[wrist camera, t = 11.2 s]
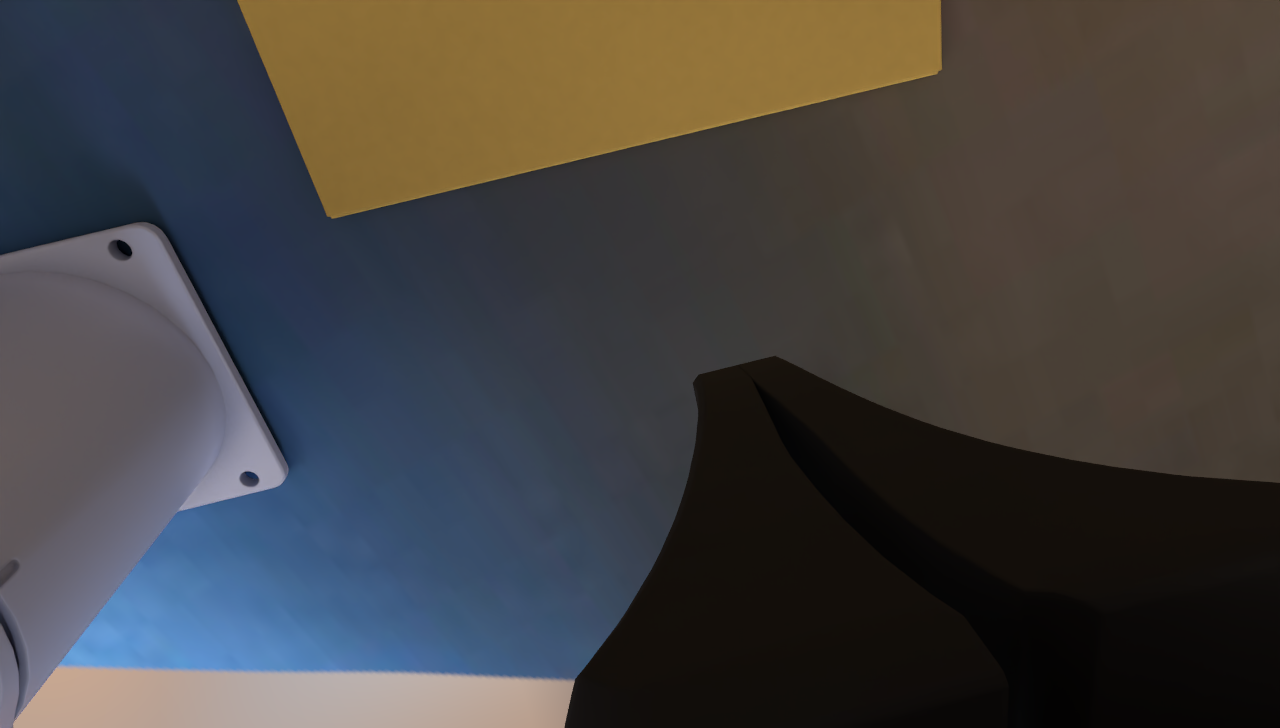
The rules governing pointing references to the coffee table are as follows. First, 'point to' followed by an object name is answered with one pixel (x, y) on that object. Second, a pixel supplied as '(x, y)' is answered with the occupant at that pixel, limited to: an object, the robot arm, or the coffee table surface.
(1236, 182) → the coffee table surface
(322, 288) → the coffee table surface
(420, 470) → the coffee table surface
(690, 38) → the envelope
